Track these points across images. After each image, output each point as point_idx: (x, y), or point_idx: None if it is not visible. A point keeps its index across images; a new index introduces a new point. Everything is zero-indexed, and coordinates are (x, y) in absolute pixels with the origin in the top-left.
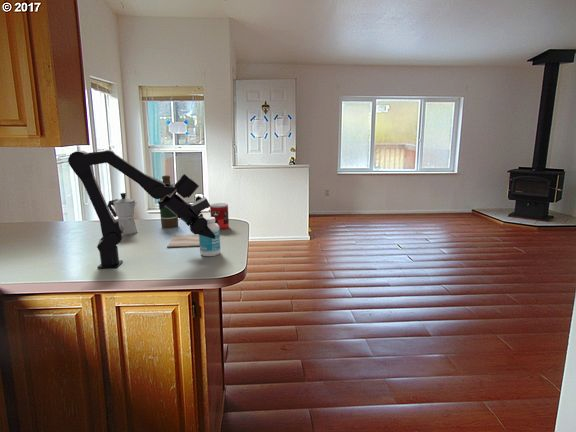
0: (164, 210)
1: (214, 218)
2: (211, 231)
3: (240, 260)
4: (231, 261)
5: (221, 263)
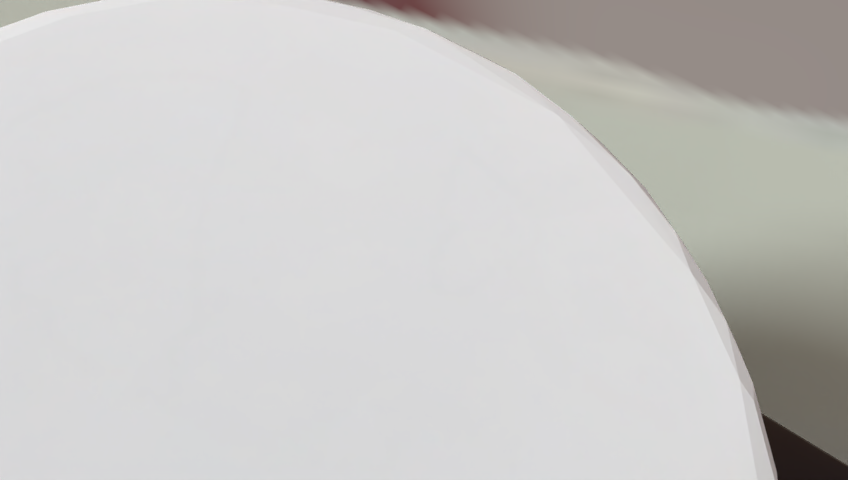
0: None
1: (460, 50)
2: (813, 448)
3: (754, 129)
4: (772, 237)
5: (831, 375)
